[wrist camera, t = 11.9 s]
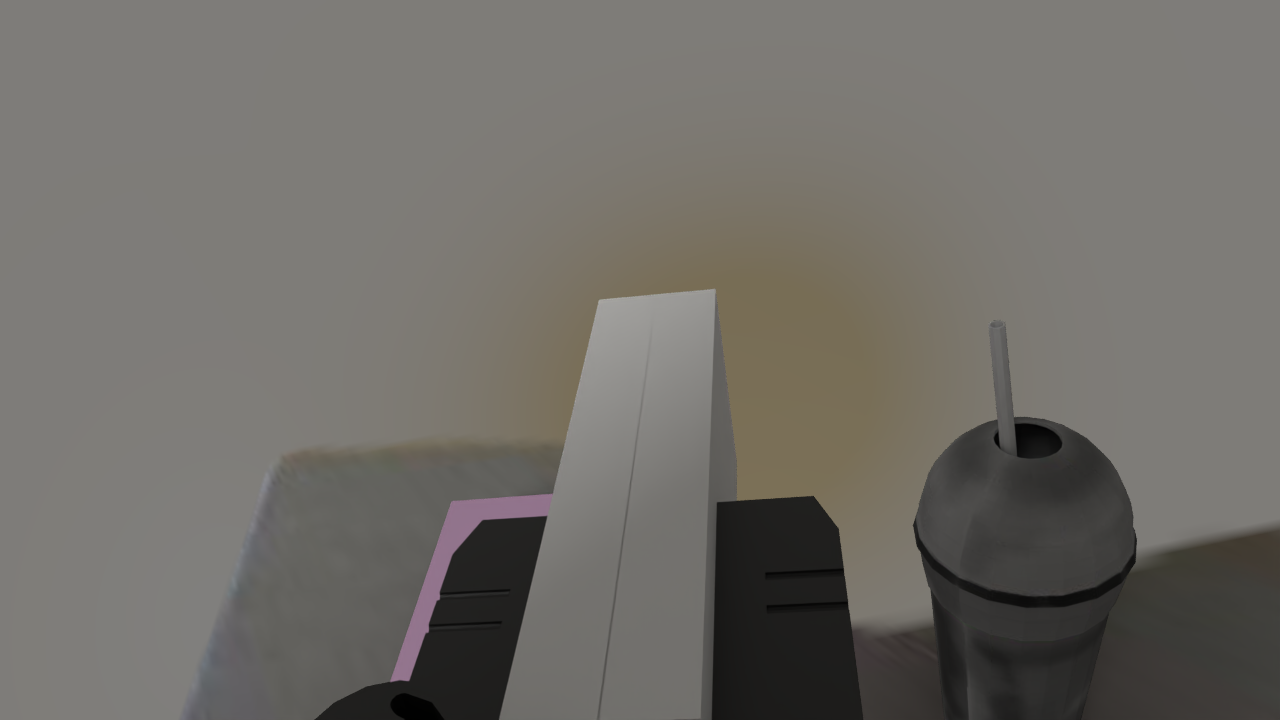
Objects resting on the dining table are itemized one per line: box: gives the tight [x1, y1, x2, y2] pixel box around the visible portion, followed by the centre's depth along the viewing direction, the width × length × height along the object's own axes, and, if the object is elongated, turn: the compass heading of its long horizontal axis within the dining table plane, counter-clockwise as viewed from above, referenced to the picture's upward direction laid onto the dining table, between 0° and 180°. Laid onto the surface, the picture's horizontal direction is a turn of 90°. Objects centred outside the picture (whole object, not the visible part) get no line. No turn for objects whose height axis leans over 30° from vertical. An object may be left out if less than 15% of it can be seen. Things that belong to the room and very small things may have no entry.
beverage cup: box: [913, 320, 1137, 720], centre depth 36 cm, size 7×7×20 cm
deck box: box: [390, 494, 553, 682], centre depth 47 cm, size 4×10×16 cm
